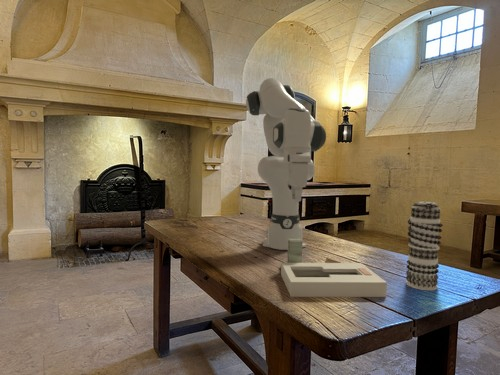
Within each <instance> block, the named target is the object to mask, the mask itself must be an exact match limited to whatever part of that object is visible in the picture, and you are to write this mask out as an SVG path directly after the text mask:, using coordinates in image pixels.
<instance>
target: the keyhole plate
mask: <svg viewBox="0 0 500 375" xmlns="http://www.w3.org/2000/svg"><path fill="white" fill-rule="evenodd" d="M280 276H281V278H282V280H283V282H284V285H285V287H286V290H287V291H288V295H289V296H290V298H294V297H295V298H299V297H300V298H308V297H309V298H319V297H320V298H326V297H327V298H387V283H388V282H387V281H386V280H384V279H383V278H382V277H380V276H379V275H378V274H376V273H375V272H374V271H372V270H371V269H370V268H368V267H367V266H366V265H364V264H363V263H362V262H340V263H325V262H302V263H287V262H281V263H280Z"/></svg>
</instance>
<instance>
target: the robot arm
mask: <svg viewBox="0 0 500 375" xmlns="http://www.w3.org/2000/svg"><path fill="white" fill-rule="evenodd" d="M245 106H246V108H247V111H248V112H249V114H250V115H252V116H259V115H264V116H263V119H262V120H263V121H262V123H263V124H262V126H263V133H264V137H265V141H266V144H267V149H268V151H269V152H270V153H271V154H272V155H270V156H265V157H262V158H261V159H260V161H259V162H258V166H257V173H258V176H259V177H260V179H261V180H262V181H264V182H265V183H266V184H267V186H268V188H269V190H270V192H271V197H272V213H271V217H270V218H271V219H270V221H271V223H270V225H268V228H266V229H265V235H266V237H265V239H264V240H263V243H262V246H263V247H264V248H269V249H275V250H281V251H288V239H300V240H301V241H302V248H306V247H307V244H306V243H305V242H303V237H304V236H303V226H301V225H300V220H301V219H300V214H299V206H300V203H299V202H301V201H302V196H303V195H302V194H303V188H306V187H307V183H308V181H310V180H311V179H312V178H314V175H315V172H316V166H315V163H314V161H313V160H312V152H317V151H318V150H320V149H321V148H322V147H323V146H324V145H325V143H326V141H327V140H326V139H327V134H326V133H327V131H326V130H325V128H324V126H323V125H322V124H321V123H320V122H318V121H317V120H316V119H315V118H314V117H313V116H312V115H311V113H310V110H308V109H306V107H305V106H304V105H303V104H302V103H300V102H299V101H297V100H296V95H295V91H294V90H293V88H292V86H290V85H288V84H287V85H286V84H282V83H281V81H279V80H278V79H276V78H274V77H269V78H265V79H264V80H263V81H262V82H261V84H260V86H259V89H258V90H254V91H252V92H250V93H248V94H247V95H246V99H245ZM290 186H291V187H290Z"/></svg>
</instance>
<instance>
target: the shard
mask: <svg viewBox="0 0 500 375" xmlns="http://www.w3.org/2000/svg"><path fill="white" fill-rule="evenodd" d="M324 263H341V262H340V261H337V260H334V259H331V258H328V257H326V259H325V261H324Z"/></svg>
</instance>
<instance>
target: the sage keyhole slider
mask: <svg viewBox="0 0 500 375" xmlns="http://www.w3.org/2000/svg"><path fill="white" fill-rule="evenodd" d="M286 261H287V262H286V263H303V247H302V241H301V240H300V239H288V250H287V260H286Z"/></svg>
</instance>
